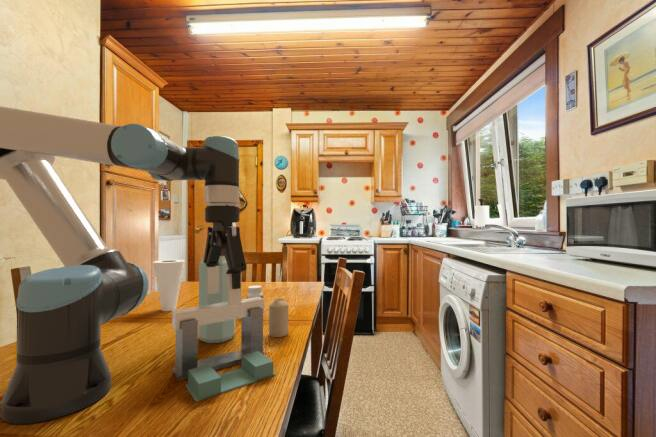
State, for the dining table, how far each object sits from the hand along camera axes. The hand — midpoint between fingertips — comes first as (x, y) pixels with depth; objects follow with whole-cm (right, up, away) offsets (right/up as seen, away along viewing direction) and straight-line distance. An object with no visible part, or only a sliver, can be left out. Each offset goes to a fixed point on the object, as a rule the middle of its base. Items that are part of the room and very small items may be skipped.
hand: (223, 298), depth 72 cm
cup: (-36, -16, +46) cm, 60 cm away
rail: (0, -5, 0) cm, 5 cm away
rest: (+4, -15, -8) cm, 17 cm away
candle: (+10, -15, +19) cm, 26 cm away
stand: (0, -15, 0) cm, 15 cm away
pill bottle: (-2, -16, +38) cm, 41 cm away
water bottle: (-7, -15, +16) cm, 23 cm away
